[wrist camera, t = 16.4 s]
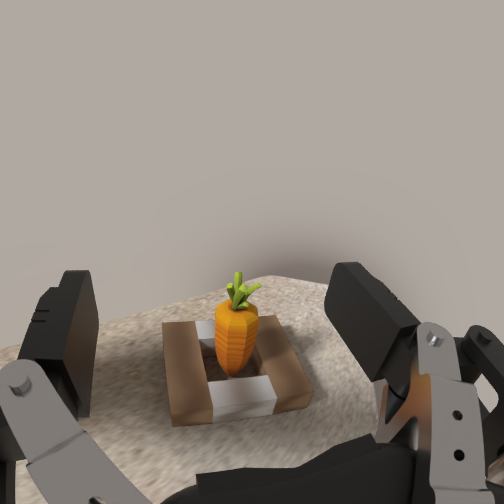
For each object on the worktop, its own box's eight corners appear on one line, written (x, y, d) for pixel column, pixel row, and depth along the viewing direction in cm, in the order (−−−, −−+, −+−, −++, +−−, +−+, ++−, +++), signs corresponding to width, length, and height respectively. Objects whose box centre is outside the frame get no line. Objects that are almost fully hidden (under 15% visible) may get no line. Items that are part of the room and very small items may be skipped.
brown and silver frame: (172, 426, 30) (170, 410, 28) (163, 341, 42) (161, 322, 40) (306, 407, 34) (314, 390, 33) (271, 332, 46) (275, 315, 44)
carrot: (220, 356, 41) (227, 260, 34) (255, 368, 39) (272, 272, 32) (205, 382, 36) (206, 283, 29) (242, 395, 35) (257, 298, 28)
